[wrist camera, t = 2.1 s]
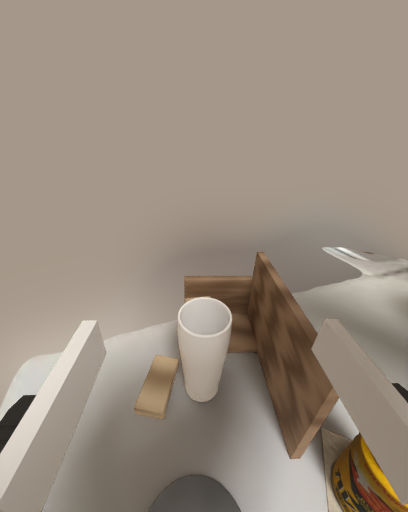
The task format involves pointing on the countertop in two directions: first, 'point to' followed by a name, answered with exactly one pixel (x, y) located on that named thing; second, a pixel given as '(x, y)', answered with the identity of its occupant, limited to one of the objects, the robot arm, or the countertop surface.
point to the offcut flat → (157, 387)
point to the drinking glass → (203, 345)
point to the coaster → (195, 496)
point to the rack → (275, 347)
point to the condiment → (355, 477)
